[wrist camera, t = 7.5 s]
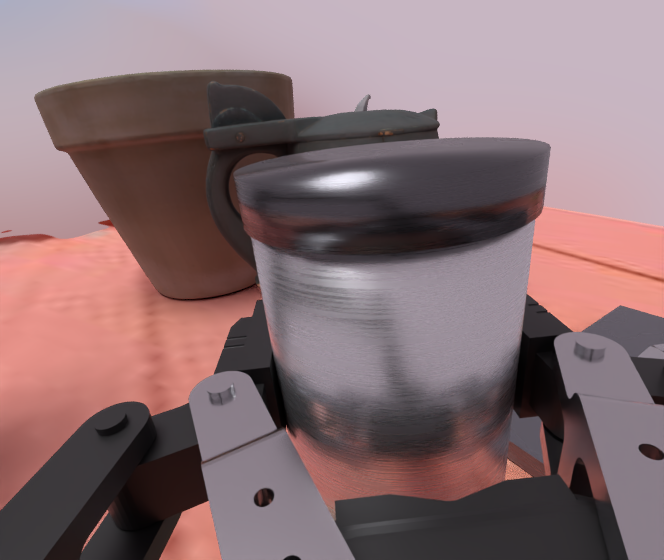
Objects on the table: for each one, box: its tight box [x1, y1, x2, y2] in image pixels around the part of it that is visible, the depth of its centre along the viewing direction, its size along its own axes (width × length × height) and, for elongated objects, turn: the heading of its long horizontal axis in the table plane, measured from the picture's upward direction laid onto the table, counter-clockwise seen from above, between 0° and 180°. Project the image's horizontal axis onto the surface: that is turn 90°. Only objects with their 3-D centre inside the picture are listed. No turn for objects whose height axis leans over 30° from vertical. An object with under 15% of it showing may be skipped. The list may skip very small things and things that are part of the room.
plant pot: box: [34, 70, 294, 299], centre depth 45 cm, size 25×25×22 cm
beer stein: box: [203, 81, 440, 289], centre depth 30 cm, size 19×15×20 cm
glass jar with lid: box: [233, 138, 551, 521], centre depth 10 cm, size 6×6×11 cm
